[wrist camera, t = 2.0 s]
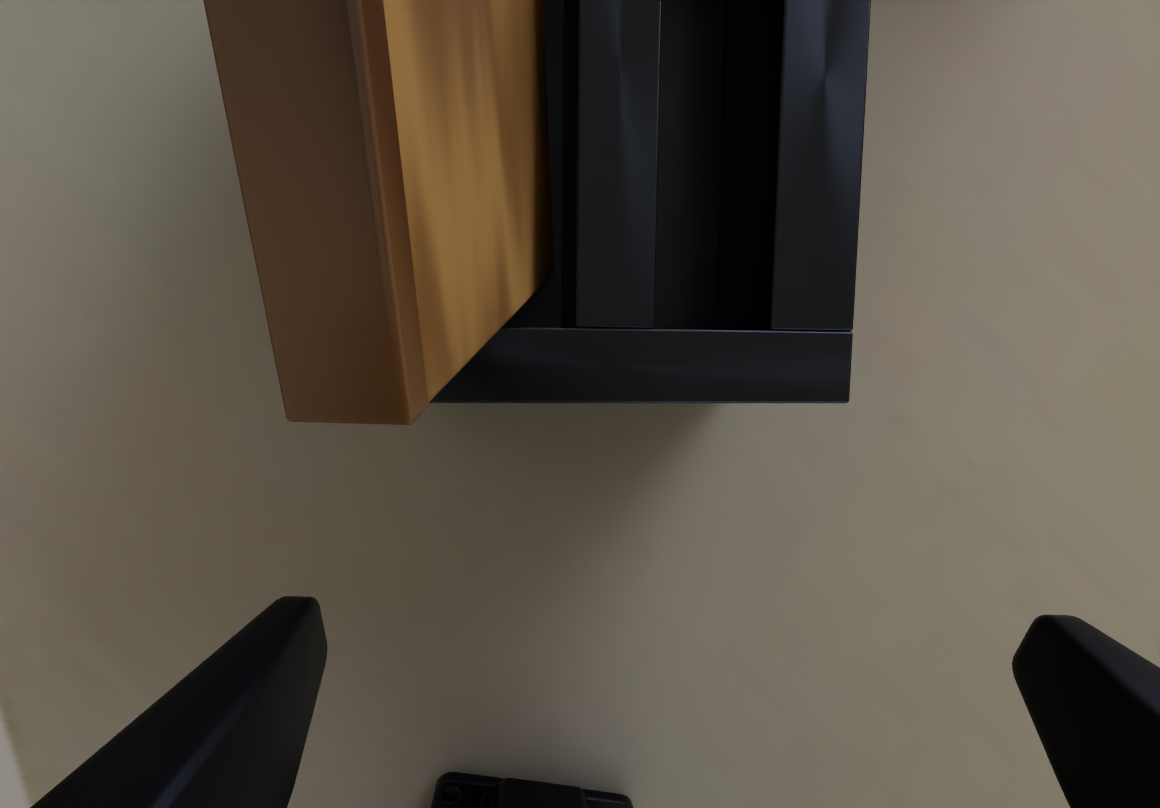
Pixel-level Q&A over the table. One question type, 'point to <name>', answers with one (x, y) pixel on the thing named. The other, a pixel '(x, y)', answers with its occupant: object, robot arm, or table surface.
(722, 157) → the toaster
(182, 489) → the table surface
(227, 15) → the toast
